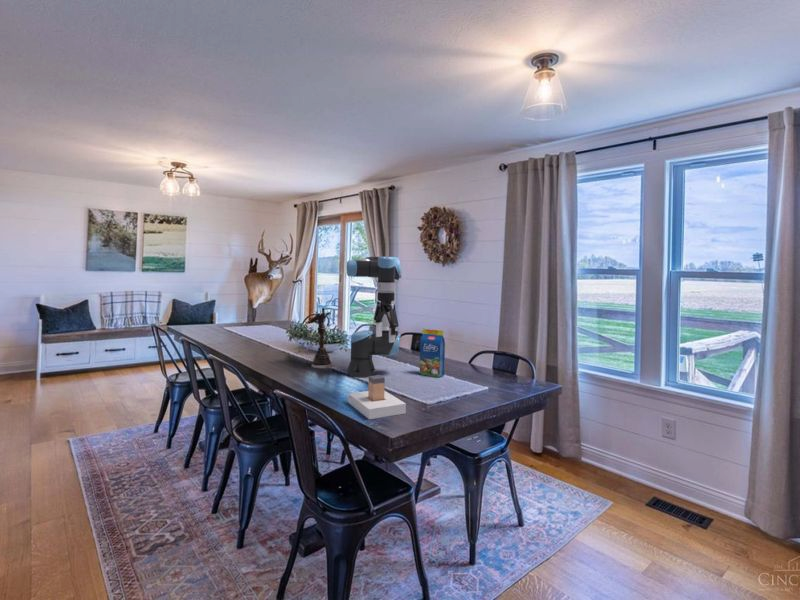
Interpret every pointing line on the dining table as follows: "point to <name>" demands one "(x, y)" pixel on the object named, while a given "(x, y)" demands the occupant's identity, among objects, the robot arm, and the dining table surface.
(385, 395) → the socket
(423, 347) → the blue food package
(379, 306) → the robot arm
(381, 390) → the plug
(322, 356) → the bird statue
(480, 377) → the dining table surface
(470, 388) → the dining table surface
